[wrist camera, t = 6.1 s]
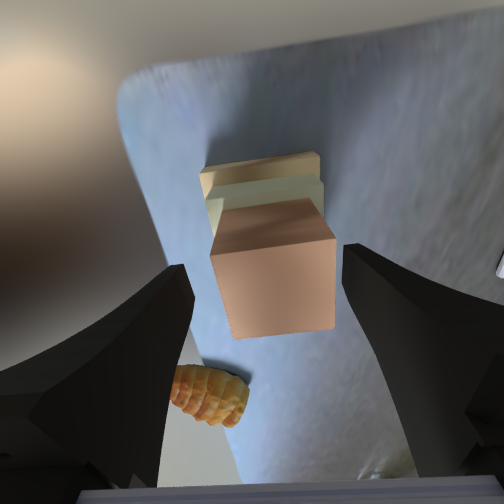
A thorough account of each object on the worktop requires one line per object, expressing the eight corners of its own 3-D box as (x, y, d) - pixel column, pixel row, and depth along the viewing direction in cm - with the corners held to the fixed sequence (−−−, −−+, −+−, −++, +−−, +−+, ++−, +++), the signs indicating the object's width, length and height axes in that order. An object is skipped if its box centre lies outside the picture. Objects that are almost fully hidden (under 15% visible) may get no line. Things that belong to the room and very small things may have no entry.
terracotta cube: (309, 197, 12) (336, 238, 8) (311, 270, 15) (334, 328, 11) (222, 210, 13) (209, 255, 9) (237, 279, 15) (233, 339, 11)
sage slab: (313, 172, 14) (324, 184, 12) (314, 259, 17) (322, 281, 15) (212, 186, 15) (204, 200, 12) (230, 268, 18) (226, 291, 15)
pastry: (158, 383, 29) (146, 418, 26) (178, 350, 26) (167, 385, 23) (229, 404, 31) (227, 439, 28) (255, 376, 28) (256, 412, 25)
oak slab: (311, 149, 16) (320, 156, 14) (312, 243, 19) (320, 260, 17) (206, 165, 16) (198, 173, 14) (226, 253, 20) (222, 271, 18)
